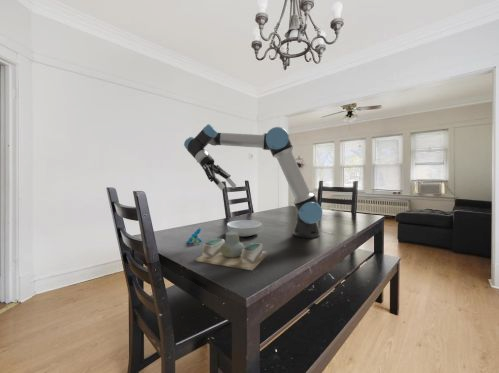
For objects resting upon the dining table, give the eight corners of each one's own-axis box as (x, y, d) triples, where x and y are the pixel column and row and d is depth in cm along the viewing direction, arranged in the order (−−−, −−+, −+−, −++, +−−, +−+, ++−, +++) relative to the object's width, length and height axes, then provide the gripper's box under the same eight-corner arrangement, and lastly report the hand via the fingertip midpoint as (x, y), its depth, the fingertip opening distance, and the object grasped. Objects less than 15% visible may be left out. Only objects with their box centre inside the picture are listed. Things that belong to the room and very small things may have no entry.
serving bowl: (221, 238, 134) (221, 226, 133) (234, 229, 154) (234, 219, 153) (256, 241, 128) (256, 228, 127) (265, 231, 148) (264, 220, 147)
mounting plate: (267, 254, 106) (267, 241, 105) (252, 270, 89) (252, 254, 89) (217, 248, 116) (217, 235, 115) (196, 260, 99) (195, 246, 99)
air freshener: (217, 255, 103) (217, 233, 103) (231, 250, 109) (230, 229, 109) (234, 261, 96) (234, 237, 95) (248, 255, 102) (247, 233, 101)
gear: (188, 236, 131) (200, 224, 130) (196, 243, 132) (208, 231, 131) (184, 245, 120) (197, 232, 119) (193, 252, 121) (206, 239, 121)
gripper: (213, 165, 141) (235, 190, 136) (186, 164, 118) (212, 194, 113) (220, 156, 139) (243, 181, 134) (195, 153, 116) (222, 183, 111)
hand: (229, 187), depth 124 cm, fingers open, 13 cm apart
